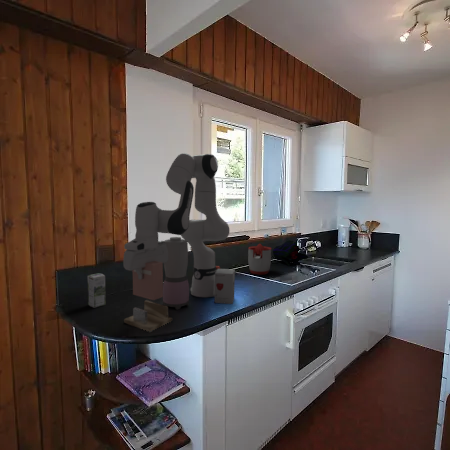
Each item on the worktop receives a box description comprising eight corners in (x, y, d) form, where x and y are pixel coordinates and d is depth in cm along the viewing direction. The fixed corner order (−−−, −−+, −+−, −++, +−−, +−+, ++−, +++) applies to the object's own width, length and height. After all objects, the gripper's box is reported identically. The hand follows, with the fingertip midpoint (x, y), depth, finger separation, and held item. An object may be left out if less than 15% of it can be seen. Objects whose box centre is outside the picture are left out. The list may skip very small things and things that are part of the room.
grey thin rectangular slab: (135, 319, 122) (135, 307, 121) (147, 323, 118) (147, 311, 117) (133, 320, 121) (133, 308, 120) (145, 324, 117) (144, 312, 116)
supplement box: (214, 303, 145) (214, 272, 143) (217, 297, 154) (217, 268, 152) (232, 304, 144) (233, 273, 142) (234, 298, 152) (235, 269, 151)
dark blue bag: (286, 272, 241) (318, 269, 218) (263, 263, 228) (295, 259, 204) (289, 247, 248) (320, 242, 225) (267, 237, 235) (297, 231, 212)
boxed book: (142, 291, 127) (142, 258, 126) (163, 296, 120) (162, 262, 119) (132, 294, 123) (132, 260, 121) (153, 300, 116) (152, 264, 115)
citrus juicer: (244, 275, 196) (245, 245, 194) (250, 269, 212) (250, 241, 210) (268, 277, 191) (269, 246, 189) (272, 271, 208) (273, 242, 206)
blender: (194, 304, 143) (194, 237, 140) (175, 311, 134) (174, 240, 130) (172, 297, 153) (172, 234, 150) (153, 303, 144) (152, 237, 140)
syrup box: (99, 302, 145) (98, 272, 144) (106, 305, 141) (105, 274, 140) (88, 305, 141) (86, 275, 139) (94, 308, 137) (93, 277, 135)
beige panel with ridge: (147, 313, 132) (147, 298, 131) (172, 321, 123) (172, 306, 123) (124, 322, 122) (123, 307, 121) (149, 332, 114) (149, 315, 113)
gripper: (160, 239, 130) (161, 271, 131) (120, 245, 113) (121, 281, 114) (171, 240, 126) (171, 273, 127) (131, 247, 109) (132, 284, 111)
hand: (147, 277), depth 121 cm, fingers closed on boxed book, 5 cm apart
